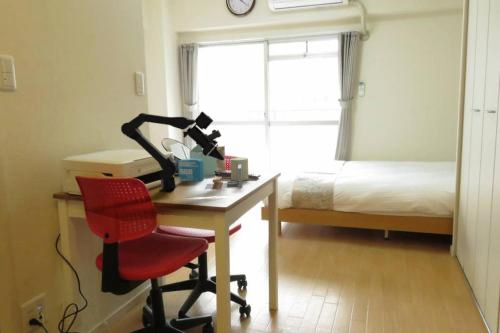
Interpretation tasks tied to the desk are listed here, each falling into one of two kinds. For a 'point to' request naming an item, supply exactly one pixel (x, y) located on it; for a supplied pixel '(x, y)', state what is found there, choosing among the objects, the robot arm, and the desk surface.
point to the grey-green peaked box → (204, 160)
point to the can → (235, 168)
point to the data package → (191, 170)
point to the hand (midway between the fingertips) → (223, 159)
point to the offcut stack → (217, 182)
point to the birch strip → (221, 164)
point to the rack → (230, 183)
